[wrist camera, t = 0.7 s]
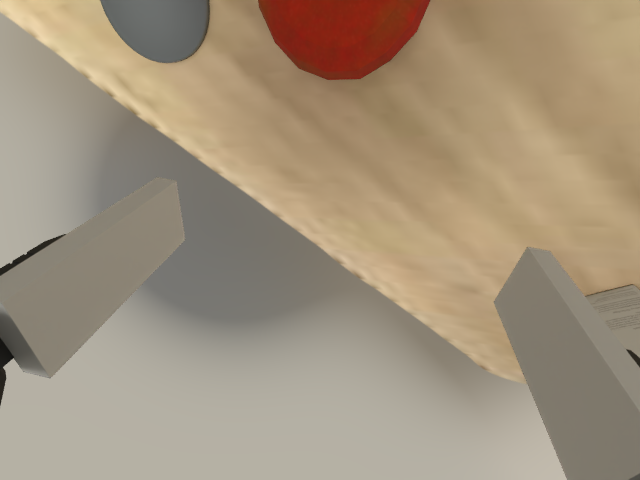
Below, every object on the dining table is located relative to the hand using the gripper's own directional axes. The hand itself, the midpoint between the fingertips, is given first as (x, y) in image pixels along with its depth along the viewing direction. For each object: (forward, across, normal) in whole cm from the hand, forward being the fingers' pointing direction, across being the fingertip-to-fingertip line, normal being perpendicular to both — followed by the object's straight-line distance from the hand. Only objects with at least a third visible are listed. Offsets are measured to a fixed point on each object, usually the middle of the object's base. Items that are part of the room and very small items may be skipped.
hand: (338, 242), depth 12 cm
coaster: (+25, -22, +7) cm, 34 cm away
